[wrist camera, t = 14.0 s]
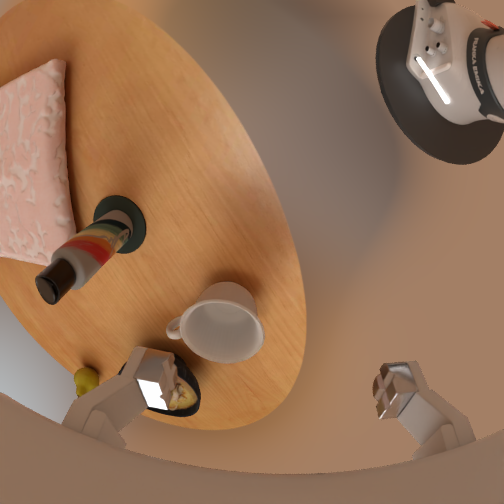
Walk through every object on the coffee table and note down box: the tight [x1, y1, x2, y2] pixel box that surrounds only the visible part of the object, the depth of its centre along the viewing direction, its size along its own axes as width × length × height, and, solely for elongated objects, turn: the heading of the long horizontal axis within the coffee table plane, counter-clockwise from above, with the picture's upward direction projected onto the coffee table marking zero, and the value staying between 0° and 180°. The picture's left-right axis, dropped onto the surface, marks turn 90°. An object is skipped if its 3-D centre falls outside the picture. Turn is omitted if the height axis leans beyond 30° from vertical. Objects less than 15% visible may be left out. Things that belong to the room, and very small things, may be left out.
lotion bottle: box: [35, 210, 133, 305], centre depth 34 cm, size 6×6×20 cm
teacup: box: [166, 281, 265, 363], centre depth 43 cm, size 12×15×10 cm
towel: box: [0, 59, 77, 266], centre depth 37 cm, size 36×34×6 cm
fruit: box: [74, 367, 99, 398], centre depth 55 cm, size 7×7×12 cm
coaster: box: [93, 195, 146, 254], centre depth 43 cm, size 10×10×1 cm
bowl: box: [118, 350, 201, 417], centre depth 52 cm, size 17×17×10 cm
